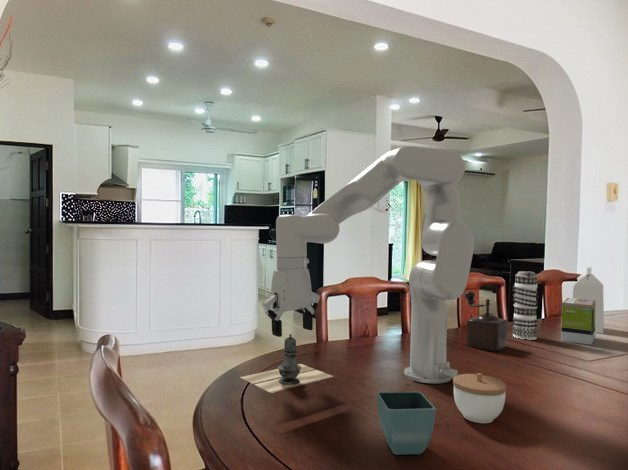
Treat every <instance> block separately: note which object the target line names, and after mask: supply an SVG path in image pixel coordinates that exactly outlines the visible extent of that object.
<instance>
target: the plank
mask: <svg viewBox="0 0 628 470" xmlns="http://www.w3.org/2000/svg"><path fill="white" fill-rule="evenodd" d="M333 377H334V375H331V374H329V373H326V372H324V371H322V370H321V371H320V370H318V369H315V370H311V371H307V372H302V373H299V375H298V376H297V377H296V378H297V379H299V380H300V383H298V384H296V385H283V384H280V383H279V380H280V379H281V378H278V379H273V380H269V381H265V382H261V383H257V384H254V385H255V386H256V387H258V388H260V389H262V390H264V391H266V392H267V393H270V394H272V393H276V392H279V391H283V390H287V389H292V388H294V387H295V388H296V387H300V386H303V385H307V384H310V383H314V382H318V381H321V380H326V379H329V378H333ZM334 378H335V377H334Z"/></svg>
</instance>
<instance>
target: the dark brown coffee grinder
mask: <svg viewBox="0 0 628 470" xmlns="http://www.w3.org/2000/svg"><path fill="white" fill-rule="evenodd" d="M463 296H464V299H466V301H467V303H466V304H467V305H468V306H469V307H470V308H483V307H486V308H485V309H486V312H485V313H482V314H479V315H477V316H474V317H472V318H469V319H467V330H466V331H467V335H466V336H467V340H466V345H468V346H467V347H469V346H472V347H471V348H474V347H477V348H476V349H479V348H482V349H481V350H484V349H487V350H486V351H490V350H492V351H491V352H498V350H499V351H501V350H503V349H505V348H507V338H508V337H507V336H508V319H504V318H500V317H497V316H496V315H494V314H493V312H490V305H491V304H490V302H491V301H490V299H489V298H487V299H485V303H484V304H483V303H482V304H480V303H479V304H475V303H476V302H475V300H474V299H475V297H476V293H475V292H474V291H467V292H465V293H464V295H463Z"/></svg>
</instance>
